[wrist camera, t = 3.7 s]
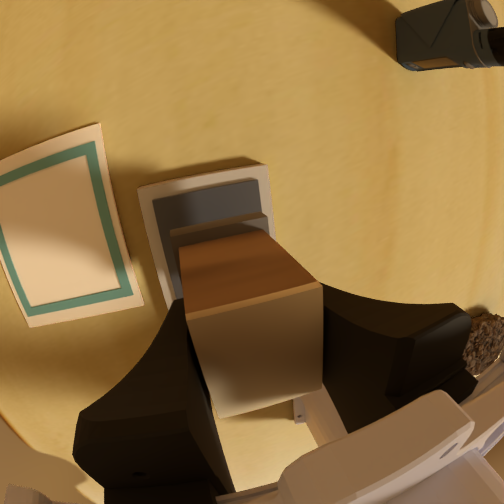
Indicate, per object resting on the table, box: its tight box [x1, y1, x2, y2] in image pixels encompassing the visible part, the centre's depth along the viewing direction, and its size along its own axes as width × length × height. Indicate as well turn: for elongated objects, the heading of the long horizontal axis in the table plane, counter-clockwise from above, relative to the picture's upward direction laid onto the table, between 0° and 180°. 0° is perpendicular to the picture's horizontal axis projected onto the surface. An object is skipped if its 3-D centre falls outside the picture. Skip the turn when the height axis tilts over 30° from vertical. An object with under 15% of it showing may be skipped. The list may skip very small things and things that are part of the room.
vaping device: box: [396, 0, 504, 71], centre depth 10 cm, size 3×5×12 cm, turn 176°
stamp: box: [170, 211, 323, 419], centre depth 11 cm, size 5×4×6 cm
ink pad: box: [137, 163, 276, 311], centre depth 17 cm, size 9×7×1 cm
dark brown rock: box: [462, 313, 504, 376], centre depth 29 cm, size 12×10×5 cm
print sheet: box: [0, 123, 144, 328], centre depth 14 cm, size 11×9×1 cm
